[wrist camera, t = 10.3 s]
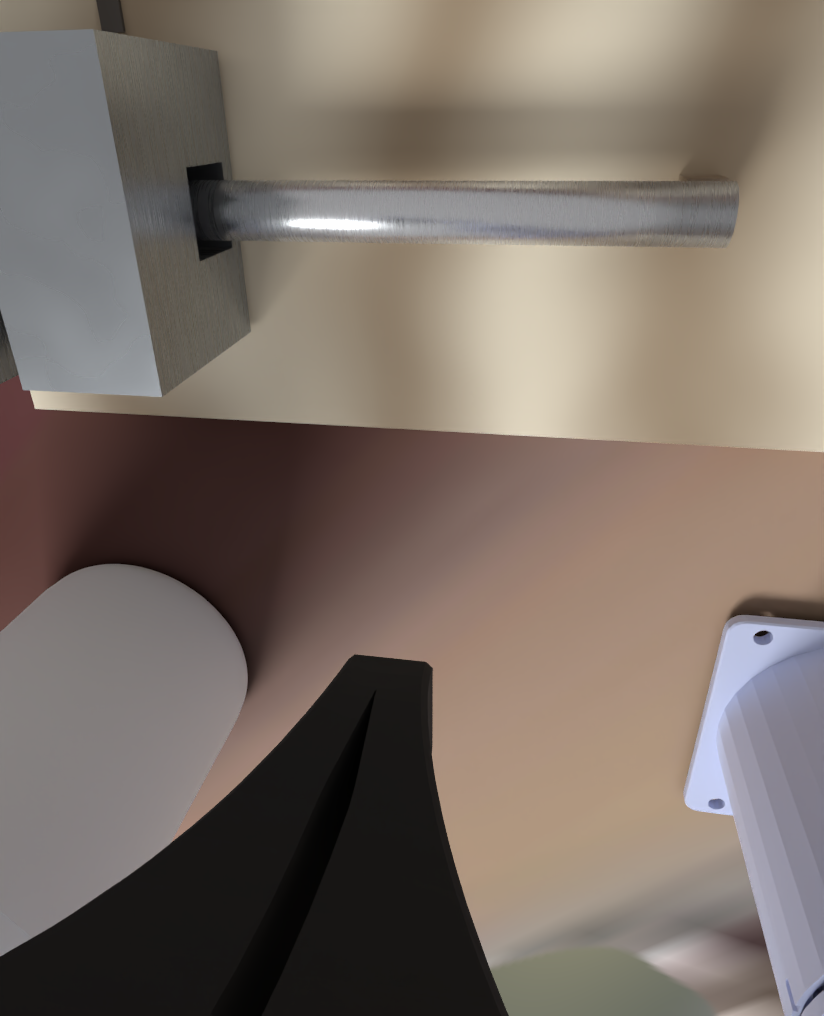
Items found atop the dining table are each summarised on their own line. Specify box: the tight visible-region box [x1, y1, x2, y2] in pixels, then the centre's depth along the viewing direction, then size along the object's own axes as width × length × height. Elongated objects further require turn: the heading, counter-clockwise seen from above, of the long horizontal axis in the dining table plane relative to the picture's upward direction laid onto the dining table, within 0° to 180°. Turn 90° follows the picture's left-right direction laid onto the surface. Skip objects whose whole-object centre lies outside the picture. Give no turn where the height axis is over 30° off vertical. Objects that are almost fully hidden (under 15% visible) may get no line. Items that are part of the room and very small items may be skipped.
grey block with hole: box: [0, 29, 251, 397], centre depth 15 cm, size 3×6×5 cm, turn 1°
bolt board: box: [0, 0, 824, 452], centre depth 15 cm, size 23×11×6 cm, turn 91°
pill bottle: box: [0, 564, 248, 956], centre depth 19 cm, size 8×8×15 cm
